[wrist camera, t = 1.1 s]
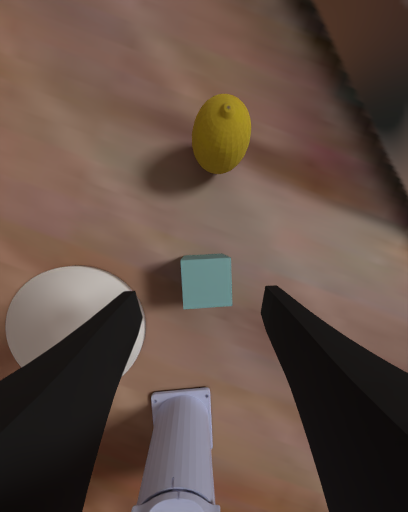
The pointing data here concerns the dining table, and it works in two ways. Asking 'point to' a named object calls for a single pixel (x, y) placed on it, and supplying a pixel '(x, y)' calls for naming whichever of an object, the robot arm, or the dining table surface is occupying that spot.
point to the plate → (61, 309)
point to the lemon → (221, 133)
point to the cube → (206, 281)
